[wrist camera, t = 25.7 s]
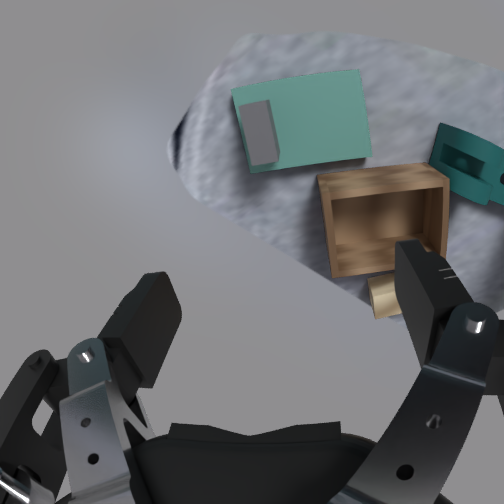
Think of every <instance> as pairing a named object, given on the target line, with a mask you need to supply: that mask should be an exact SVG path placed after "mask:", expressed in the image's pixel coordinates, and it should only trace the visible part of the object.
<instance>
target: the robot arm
mask: <svg viewBox="0 0 504 504" xmlns="http://www.w3.org/2000/svg"><path fill="white" fill-rule="evenodd" d="M394 287H395V294H396V298H397V301H398V304H399V306H400V309H401V311H402V314H403V317H404V320H405V322H406V325H407V328H408V331H409V333H410V336H411V339H412V342H413V345H414V348H415V351H416V354H417V357H418V360H419V363H420V366H421V371H420V373H419V375H418V377H417V378H416V380H415V382H414V384H413V386H412V388H411V389H410V391H409V393H408V395H407V397H406V398H405V400H404V402H403V403H402V405H401V407H400V408H399V410H398V412H397V413H396V415H395V416H394V418H393V420H392V421H391V423H390V425H389V426H388V428H387V429H386V430H385V432H384V434H383V435H382V437H381V438H380V440H379V441H378V442H377V443H376V442H374V441H372V440H370V439H367V438H364V437H361V436H357V435H353V434H346V433H341V426H340V421H338V422H329V423H318V424H304V425H294V426H290V427H286V428H283V429H279V430H275V431H271V432H266V433H262V434H258V435H252V436H247V435H242V434H238V433H234V432H230V431H227V430H223V429H219V428H216V427H212V426H209V425H193V424H178V423H172V424H171V427H170V430H169V433H168V434H166V435H162V436H158V437H156V436H155V434H154V432H153V429H152V427H151V425H150V422H149V420H148V417H147V414H146V412H145V409H144V407H143V404H142V401H141V399H140V397H139V395H138V394H137V390H138V388H153V386H154V383H155V381H156V378H157V376H158V374H159V371H160V369H161V367H162V364H163V362H164V359H165V357H166V355H167V352H168V350H169V348H170V345H171V343H172V341H173V338H174V336H175V334H176V331H177V329H178V327H179V324H180V322H181V318H182V311H181V306H180V304H179V301H178V299H177V296H176V294H175V292H174V289H173V286H172V284H171V282H170V279H169V277H168V275H167V274H166V273H165V272H155V273H147V274H144V275H143V277H142V278H141V279H140V281H139V282H138V284H137V286H136V287H135V288H134V289H133V290H132V291H130V292H129V293H128V294H127V295H126V296H125V297H124V298H123V300H122V301H121V302H120V304H119V307H117V308H116V310H115V311H114V315H112V316H111V317H110V319H109V320H108V322H107V323H106V325H105V326H104V328H103V329H102V331H101V332H100V334H99V335H98V337H97V338H89V339H86V340H84V341H82V342H80V343H78V344H77V345H76V346H75V347H74V348H73V349H72V350H71V351H70V353H69V355H68V357H67V358H65V359H60V360H55V359H54V358H53V356H52V355H51V354H50V352H49V351H48V350H39V351H36V352H34V353H33V354H32V355H30V356H29V357H28V358H27V359H26V360H25V362H24V363H23V365H22V366H21V368H20V369H19V370H18V372H17V373H16V375H15V377H14V378H13V380H12V381H11V383H10V384H9V386H8V388H7V389H6V391H5V392H4V394H3V396H2V397H1V399H0V504H453V503H452V502H451V501H450V500H448V499H447V498H446V497H444V496H443V495H442V494H441V493H440V491H441V489H442V487H443V485H444V484H445V482H446V480H447V478H448V476H449V474H450V472H451V470H452V468H453V466H454V464H455V462H456V460H457V458H458V456H459V453H460V451H461V449H462V447H463V445H464V443H465V440H466V438H467V435H468V433H469V431H470V428H471V426H472V423H473V421H474V418H475V416H476V413H477V410H478V407H479V405H480V402H481V399H482V396H483V395H497V396H498V399H499V402H500V405H501V408H502V411H503V415H504V320H499V319H498V316H497V314H496V313H495V312H494V311H493V310H492V309H491V308H490V307H488V306H486V305H484V304H481V303H477V302H474V301H473V300H472V298H471V296H470V295H469V293H468V292H467V290H466V289H465V287H464V286H463V284H462V283H461V281H460V280H459V278H458V277H456V274H455V272H454V271H453V269H451V266H450V265H449V264H448V262H447V261H446V259H445V258H444V257H442V256H441V255H439V254H437V253H436V252H434V251H430V252H427V251H426V250H425V248H424V247H423V245H422V244H421V242H420V241H419V240H418V239H409V240H402V241H396V243H395V271H394ZM42 399H43V400H44V401H45V402H46V403H47V404H48V405H49V406H50V407H51V408H52V410H53V413H52V415H51V417H50V419H49V421H48V423H47V425H46V427H45V429H44V431H43V433H42V435H41V436H40V435H39V434H38V433H36V431H35V430H34V429H33V426H32V418H33V416H34V414H35V412H36V410H37V408H38V406H39V404H40V403H41V401H42ZM66 471H68V477H69V482H70V487H71V493H69V494H68V495H66V496H65V497H63V498H62V499H60V500H59V501H57V502H56V503H55V501H56V498H57V496H58V493H59V490H60V487H61V485H62V482H63V479H64V477H65V474H66Z"/></svg>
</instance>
